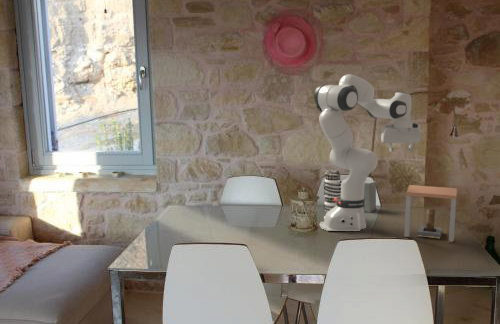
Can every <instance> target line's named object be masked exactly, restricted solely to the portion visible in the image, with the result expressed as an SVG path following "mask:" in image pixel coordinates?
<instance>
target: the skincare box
mask: <svg viewBox="0 0 500 324" xmlns="http://www.w3.org/2000/svg"><path fill="white" fill-rule="evenodd" d="M364 199H365V208H364V212H367V213H371V212H374V211H375V210H377V181H375V180H366V181H365V186H364Z"/></svg>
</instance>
